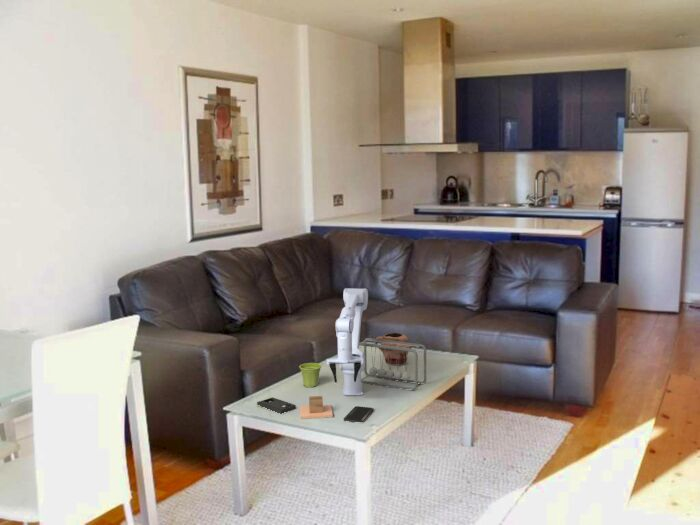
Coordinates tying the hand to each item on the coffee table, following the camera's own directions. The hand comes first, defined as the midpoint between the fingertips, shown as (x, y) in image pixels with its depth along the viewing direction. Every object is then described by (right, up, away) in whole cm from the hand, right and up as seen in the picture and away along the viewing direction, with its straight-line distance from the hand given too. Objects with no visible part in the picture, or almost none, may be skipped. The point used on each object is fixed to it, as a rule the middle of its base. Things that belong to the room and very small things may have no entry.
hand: (345, 381), depth 286 cm
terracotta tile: (-11, -11, -8) cm, 17 cm away
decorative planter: (+22, -1, +59) cm, 63 cm away
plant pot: (-15, -6, +26) cm, 31 cm away
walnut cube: (-11, -10, -8) cm, 17 cm away
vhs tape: (-27, -11, -1) cm, 29 cm away
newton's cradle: (+19, -6, +28) cm, 34 cm away
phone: (+5, -12, -11) cm, 17 cm away
